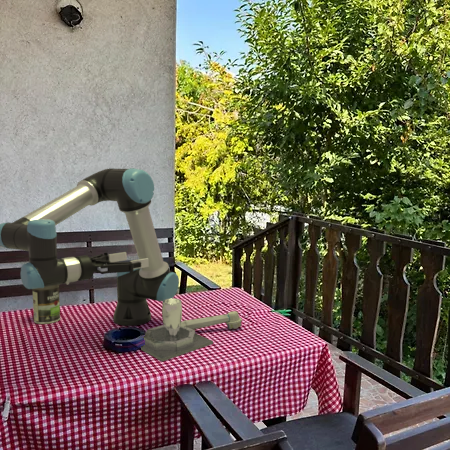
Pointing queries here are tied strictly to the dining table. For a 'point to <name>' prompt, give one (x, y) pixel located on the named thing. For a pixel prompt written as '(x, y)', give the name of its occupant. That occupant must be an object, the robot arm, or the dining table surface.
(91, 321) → the dining table surface
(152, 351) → the collar
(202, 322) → the beige knobbed rod
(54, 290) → the coffee can
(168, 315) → the chrome metal cup
